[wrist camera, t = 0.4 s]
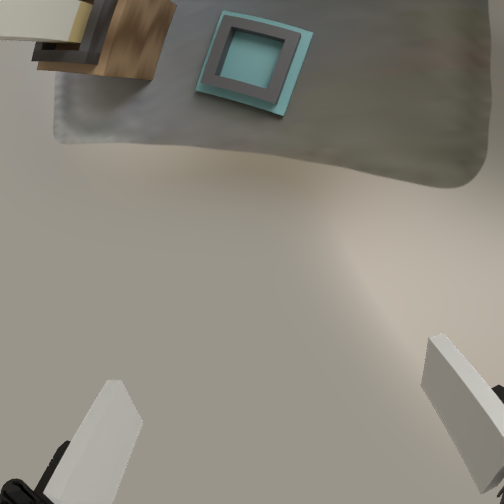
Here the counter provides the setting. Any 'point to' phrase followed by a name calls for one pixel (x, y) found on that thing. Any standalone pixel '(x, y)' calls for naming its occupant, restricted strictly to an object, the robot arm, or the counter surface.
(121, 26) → the wooden planter box
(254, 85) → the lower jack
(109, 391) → the robot arm
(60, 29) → the plug
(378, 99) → the counter surface
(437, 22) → the counter surface
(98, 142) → the counter surface
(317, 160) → the counter surface
